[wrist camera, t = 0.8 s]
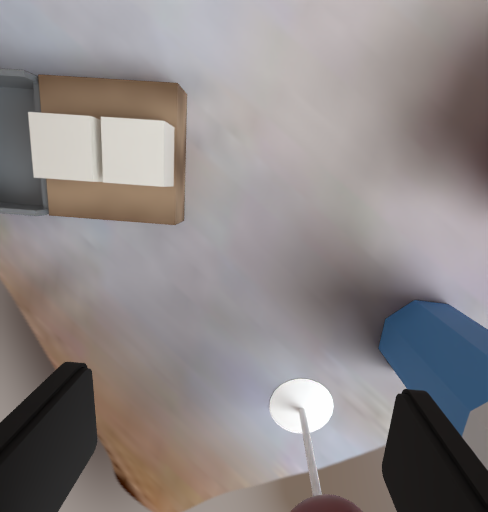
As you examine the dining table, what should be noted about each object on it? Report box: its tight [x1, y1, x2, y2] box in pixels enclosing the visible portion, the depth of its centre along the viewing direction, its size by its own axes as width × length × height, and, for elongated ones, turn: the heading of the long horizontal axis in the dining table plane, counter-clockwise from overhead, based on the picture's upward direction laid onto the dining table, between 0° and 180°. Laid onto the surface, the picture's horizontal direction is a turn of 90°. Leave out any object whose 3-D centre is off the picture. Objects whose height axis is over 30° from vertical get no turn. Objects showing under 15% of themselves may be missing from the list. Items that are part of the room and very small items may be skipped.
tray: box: [0, 69, 49, 216], centre depth 29 cm, size 12×8×4 cm
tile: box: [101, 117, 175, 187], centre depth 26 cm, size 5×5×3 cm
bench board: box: [38, 75, 187, 225], centre depth 29 cm, size 12×12×4 cm
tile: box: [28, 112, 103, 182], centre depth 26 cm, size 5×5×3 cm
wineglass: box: [269, 379, 363, 512], centre depth 27 cm, size 8×9×20 cm
